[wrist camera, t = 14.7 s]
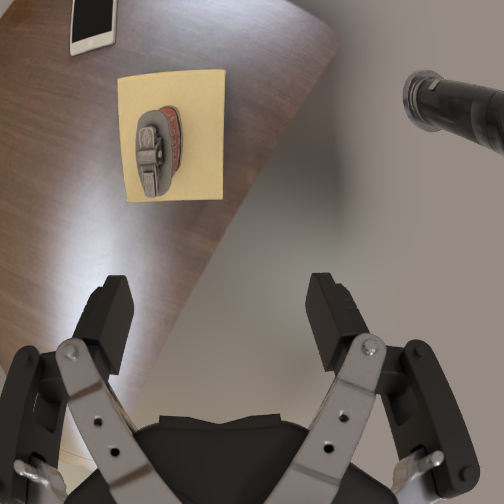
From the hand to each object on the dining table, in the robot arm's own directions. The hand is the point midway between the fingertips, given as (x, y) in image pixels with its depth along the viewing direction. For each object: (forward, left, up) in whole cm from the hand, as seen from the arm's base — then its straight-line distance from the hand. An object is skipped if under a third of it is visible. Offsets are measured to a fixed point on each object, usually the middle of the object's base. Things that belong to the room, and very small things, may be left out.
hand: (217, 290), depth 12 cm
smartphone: (+19, -24, -30) cm, 43 cm away
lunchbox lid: (+6, -2, -23) cm, 24 cm away
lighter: (+6, -2, -23) cm, 24 cm away
